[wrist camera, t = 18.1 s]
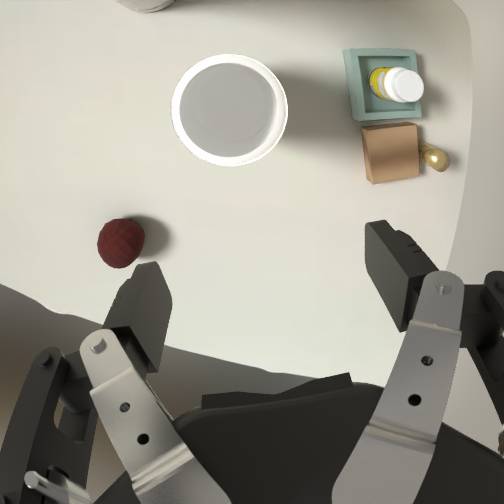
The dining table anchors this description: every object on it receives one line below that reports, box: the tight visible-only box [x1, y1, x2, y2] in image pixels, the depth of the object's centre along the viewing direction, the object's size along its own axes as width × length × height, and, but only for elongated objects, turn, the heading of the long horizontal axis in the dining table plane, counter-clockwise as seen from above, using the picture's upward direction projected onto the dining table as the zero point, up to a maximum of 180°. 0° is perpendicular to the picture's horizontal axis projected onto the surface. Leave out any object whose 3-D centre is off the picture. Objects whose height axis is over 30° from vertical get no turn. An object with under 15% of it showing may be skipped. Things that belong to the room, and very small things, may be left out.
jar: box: [171, 54, 288, 166], centre depth 32 cm, size 11×10×15 cm
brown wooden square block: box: [361, 122, 419, 184], centre depth 41 cm, size 8×8×3 cm
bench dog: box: [418, 142, 450, 172], centre depth 39 cm, size 3×3×6 cm
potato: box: [97, 219, 145, 269], centre depth 45 cm, size 7×8×6 cm
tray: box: [343, 49, 422, 121], centre depth 35 cm, size 10×10×3 cm
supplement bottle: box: [368, 67, 424, 103], centre depth 32 cm, size 5×5×8 cm
